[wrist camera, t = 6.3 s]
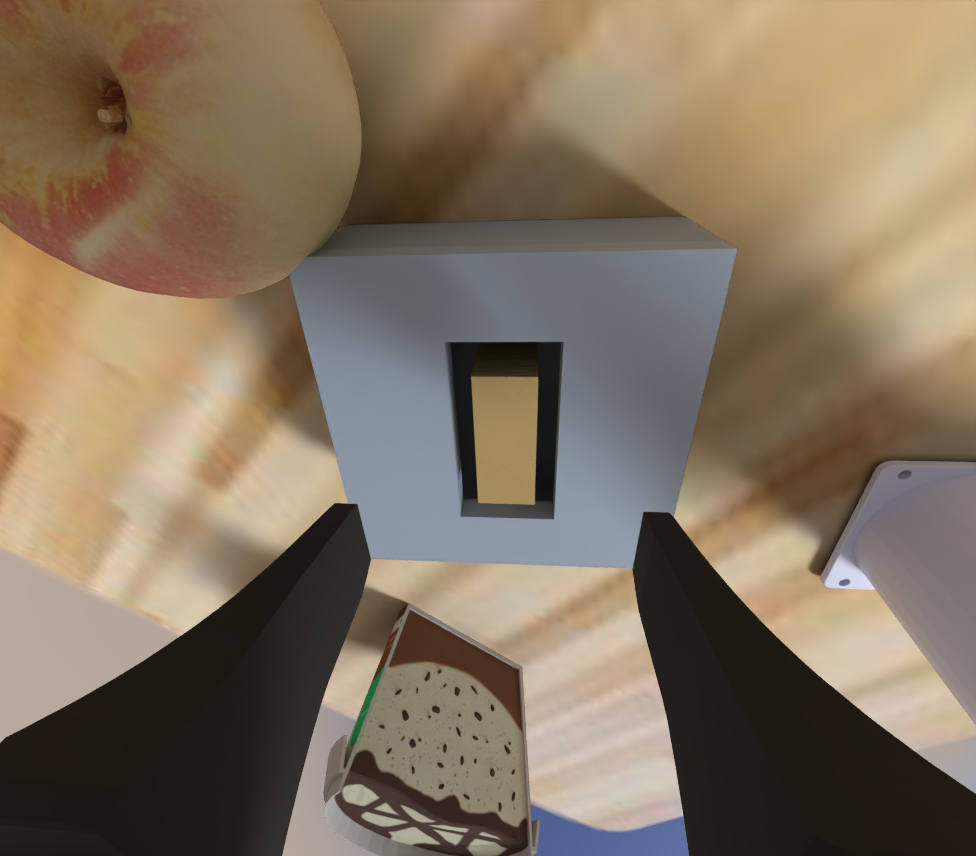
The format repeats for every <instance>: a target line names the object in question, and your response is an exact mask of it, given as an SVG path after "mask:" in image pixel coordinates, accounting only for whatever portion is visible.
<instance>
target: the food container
mask: <svg viewBox="0 0 976 856" xmlns="http://www.w3.org/2000/svg"><path fill="white" fill-rule="evenodd" d="M346 743H347V735H344V736H343V737H341V738H340V739H339V740H338V741H337V742H336V743H335V744H334V746H333V747H332V748H331V750H330V754H329V757H328V764H327V771H326V778H325V785H324V792H323V793H324V801H325V803H326V805H325V809H324V814H325V819H326V821H327V822H328V824H329V826H330V827H331V828H332V829H333V830H334V831H335V833H337V834H338V835H339V836H341V837H342V838H343V839H344V840H346V841H348V842H349V843H351V844H353V845H354V846H356V847H358V848H360V849H362V850H364V851H366V852H369V853H372V854H374V855H376V856H533V854H534V853H537V845H538V836H539V827H540V821H539V820H534V821H531V807H530V790H529V773H528V757H527V740H526V723H525V706H524V690H523V673H522V667H521V666H519V665H518V664H516V663H514V662H512V661H510V660H509V659H507V658H505V657H503V656H502V655H500V654H498V653H496V652H494V651H493V650H491V649H489V648H487V647H486V646H484V645H482V644H480V643H478V642H477V641H475V640H473V639H471V638H470V637H468V636H466V635H464V634H462V633H461V632H459V631H457V630H455V629H454V628H452V627H450V626H448V625H446V624H445V623H443V622H441V621H439V620H438V619H436V618H434V617H432V616H430V615H429V614H427V613H425V612H423V611H422V610H420V609H418V608H416V607H414V606H413V605H411V604H409V603H408V604H407V605H406V606H405V607H404V608H403V609H402V610H401V611H400V612H399V615H398V617H397V620H396V622H395V625H394V628H393V630H392V633H391V635H390V638H389V640H388V643H387V645H386V648H385V650H384V653H383V655H382V658H381V660H380V663H379V665H378V668H377V671H376V673H375V676H374V678H373V681H372V683H371V686H370V688H369V691H368V693H367V696H366V698H365V701H364V703H363V706H362V708H361V711H360V713H359V716H358V719H357V721H356V724H355V726H354V729H353V731H352V734H351V736H350V739H349V741H348V744H347V746H346Z"/></svg>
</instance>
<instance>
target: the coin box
mask: <svg viewBox="0 0 976 856" xmlns="http://www.w3.org/2000/svg"><path fill="white" fill-rule="evenodd" d="M736 253H737V248H736V247H734V246H732V245H731V244H729V243H727V242H726V241H724V240H723V239H721V238H719V237H718V236H716V235H714V234H713V233H711V232H709V231H708V230H706V229H704V228H703V227H701V226H700V225H698V224H696V223H695V222H693V221H691V220H690V219H688V218H686V217H685V216H676V217H637V218H598V219H559V220H520V221H481V222H442V223H403V224H364V225H344V226H342V227H340V228H338V229H336V230H335V232H334V234H333V235H332V236H331V237H330V239H329V240H328V241H327V242H326V243H325V245H324V246H323V247H322V248H321V249H320V250H318V251H317V252H315V253H313V254H311V255H310V256H307V257H306V258H305V259H304V260H303V261H302V262H301V263H300V264H299V265H298V266H297V267H296V268H295V269H294V270H293V271H292V272H291V273H290V274H289V277H290V281H291V285H292V289H293V293H294V296H295V300H296V304H297V308H298V312H299V316H300V320H301V323H302V327H303V331H304V335H305V339H306V343H307V346H308V350H309V354H310V358H311V362H312V366H313V370H314V373H315V377H316V381H317V385H318V389H319V393H320V397H321V400H322V404H323V408H324V412H325V416H326V420H327V424H328V427H329V431H330V435H331V439H332V443H333V447H334V450H335V454H336V458H337V462H338V466H339V470H340V474H341V477H342V481H343V485H344V489H345V493H346V497H347V501H348V504H358V508H359V512H360V516H361V521H362V525H363V529H364V533H365V537H366V541H367V545H368V549H369V553H370V557H371V559H387V560H414V561H441V562H469V563H496V564H523V565H550V566H577V567H605V568H632V569H633V564H634V559H635V553H636V548H637V543H638V538H639V532H640V527H641V522H642V517H643V512H669V513H670V514H671V515H672V516H673V517H674V513H675V509H676V505H677V501H678V497H679V492H680V488H681V484H682V480H683V476H684V471H685V467H686V463H687V459H688V455H689V450H690V446H691V442H692V438H693V434H694V429H695V425H696V421H697V417H698V413H699V409H700V404H701V400H702V396H703V392H704V388H705V383H706V379H707V375H708V371H709V367H710V362H711V358H712V354H713V350H714V346H715V341H716V337H717V333H718V329H719V325H720V320H721V316H722V312H723V308H724V304H725V299H726V295H727V291H728V287H729V283H730V278H731V274H732V270H733V266H734V262H735V257H736ZM479 342H538V409H537V442H536V476H535V505H528V504H495V503H478V490H477V472H476V454H475V436H474V418H473V400H472V382H471V375H472V371H473V367H474V363H475V359H476V355H477V350H478V346H479Z"/></svg>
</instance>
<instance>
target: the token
mask: <svg viewBox="0 0 976 856" xmlns="http://www.w3.org/2000/svg"><path fill="white" fill-rule="evenodd" d="M471 382H472V400H473V418H474V436H475V454H476V472H477V490H478V503H495V504H528V505H535V476H536V442H537V409H538V342H479V346H478V350H477V355H476V359H475V363H474V367H473V371H472V375H471Z"/></svg>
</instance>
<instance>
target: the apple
mask: <svg viewBox="0 0 976 856" xmlns="http://www.w3.org/2000/svg"><path fill="white" fill-rule="evenodd" d="M361 148H362V129H361V120H360V111H359V104H358V99H357V94H356V89H355V86H354V82H353V78H352V74H351V71H350V68H349V65H348V62H347V59H346V56H345V53H344V50H343V48H342V46H341V44H340V41H339V39H338V37H337V34H336V32H335V30H334V28H333V26H332V24H331V22H330V20H329V18H328V16H327V15H326V13H325V11H324V9H323V7H322V5H321V4H320V2H319V0H0V222H1V223H2V224H4V225H5V226H6V227H7V228H9V229H10V230H11V231H12V232H14V233H15V234H17V235H18V236H20V237H21V238H23V239H24V240H26V241H27V242H29V243H30V244H32V245H34V246H35V247H37V248H39V249H40V250H42V251H44V252H46V253H48V254H49V255H51V256H53V257H55V258H57V259H59V260H61V261H63V262H65V263H67V264H69V265H71V266H73V267H75V268H77V269H79V270H81V271H83V272H85V273H87V274H90V275H92V276H94V277H97V278H99V279H102V280H105V281H108V282H110V283H113V284H116V285H119V286H122V287H126V288H129V289H133V290H137V291H142V292H148V293H155V294H162V295H170V296H179V297H189V298H200V299H201V298H224V297H232V296H238V295H243V294H247V293H251V292H255V291H258V290H260V289H263V288H265V287H267V286H270V285H272V284H274V283H277V282H279V281H281V280H283V279H284V278H286V277H288V276H289V274H290V273H291V272H292V271H293V270H294V269H295V268H296V267H297V266H298V265H299V264H300V263H301V262H302V261H303V260H304V259H305V258H306V257H307V256H310V255H311V254H313V253H315V252H317V251H318V250H320V249H321V248H322V247H323V246H324V245H325V243H326V242H327V241H328V240H329V239H330V237H331V236H332V235H333V234H334V232H335V230H336V229H337V227H338V226H339V224H340V222H341V220H342V218H343V216H344V214H345V212H346V210H347V207H348V205H349V202H350V199H351V196H352V193H353V190H354V186H355V182H356V178H357V175H358V170H359V165H360V158H361Z"/></svg>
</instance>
